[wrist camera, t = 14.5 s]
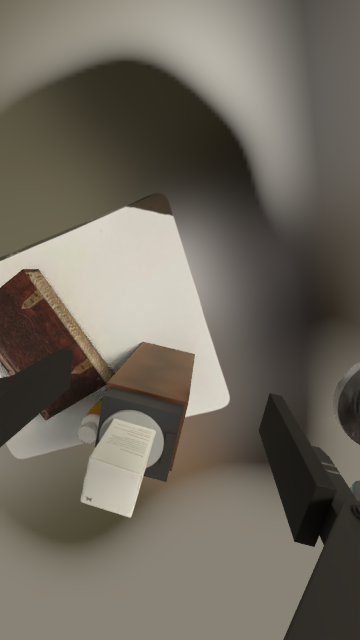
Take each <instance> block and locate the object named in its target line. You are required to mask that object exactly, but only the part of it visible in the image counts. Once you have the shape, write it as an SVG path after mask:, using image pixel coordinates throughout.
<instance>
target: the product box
mask: <svg viewBox="0 0 360 640" xmlns="http://www.w3.org/2000/svg"><path fill="white" fill-rule="evenodd" d="M155 434H156V431H155V430H153V429H149V428H146V427H142V426H139V425H135V424H132V423H129V422H126V421H122V420H119V419H115V418H114V419H113V420H112V422H111V424H110V425H109V427H108V429H107V430H106V432H105V433H104V435H103V437H102V438H101V440H100V441H99V443H98V444H97V446H96V448H95V449H94V451H93V452H92V454H91V456H90V457H89V461H88V466H87V471H86V475H85V479H84V485H83V490H82V494H81V499H80V500H81V502H83V503H86V504H89V505H92V506H96V507H99V508H102V509H105V510H108V511H111V512H114V513H117V514H120V515H124V516H127V517H131V516H132V513H133V510H134V506H135V502H136V500H137V496H138V493H139V489H140V486H141V482H142V479H143V475H144V472H145V469H146V465H147V461H148V457H149V454H150V450H151V447H152V443H153V440H154V437H155Z"/></svg>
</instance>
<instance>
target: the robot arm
mask: <svg viewBox="0 0 360 640" xmlns="http://www.w3.org/2000/svg"><path fill="white" fill-rule="evenodd" d="M72 354H73V350H68V349H64V348H61V349H59V350H58V351H56V352H54V353H52V354H50V355H48V356H47V357H45V358H43V359H41V360H39V361H37V362H36V363H34V364H32V365H30V366H28V367H26V368H25V369H23V370H21V371H19V372H17V373H15V374H14V375H12V376H10V377H3V378H0V447H1V446H2V445H3V444H5V443H6V442H7V441H8V440H9V439H10V438H12V437H13V436H14V435H15V434H16V433H17V432H19V431H20V430H21V429H22V428H23V427H24V426H26V425H27V424H28V423H29V422H30V421H31V420H32V419H34V418H35V417H36V416H37V415H38V414H39V413H41V412H42V411H43V410H44V409H45V408H46V407H48V406H49V405H50V404H51V403H52V402H53V401H54V400H56V399H57V398H58V397H59V396H60V395H61V394H63V393H64V392H65V391H66V390H67V389H68V388H70V377H71V365H72ZM357 415H358V418H359V420H360V397H359V399H358V402H357ZM259 433H260V436H261V439H262V442H263V445H264V448H265V451H266V455H267V458H268V461H269V464H270V467H271V470H272V473H273V476H274V479H275V483H276V486H277V488H278V492H279V495H280V498H281V501H282V504H283V507H284V510H285V514H286V517H287V520H288V523H289V526H290V529H291V532H292V535H293V538H294V541H295V542H298V543H301V544H305V545H309V546H313V547H314V546H315V544H316V542H317V539H318V537H319V535H320V537H321V540H322V542H323V544H324V547H323V550H322V552H321V555H320V557H319V559H318V561H317V563H316V566H315V568H314V570H313V573H312V575H311V577H310V580H309V582H308V584H307V587H306V589H305V591H304V593H303V596H302V598H301V600H300V603H299V605H298V607H297V610H296V612H295V614H294V617H293V619H292V621H291V624H290V626H289V628H288V630H287V633H286V635H285V637H284V640H360V481H356V482H355V483H354V484H353V485H352V487H351V488H349V487H348V485H347V484H346V482H345V481H344V479H343V478H342V476H341V475H340V473H339V471H338V470H337V468H336V467H335V465H334V464H333V462H332V461H331V459H330V458H329V456H327V454H326V453H325V452H324V451H323V450H321V449H320V448H319V447H315V446H311V444H310V442H309V441H308V439H307V437H306V436H305V434H304V432H303V431H302V429H301V427H300V426H299V424H298V422H297V421H296V419H295V417H294V415H293V414H292V412H291V410H290V409H289V407H288V405H287V404H286V402H285V400H284V399H283V397H282V396H280V395H275V394H269V398H268V401H267V405H266V408H265V411H264V415H263V418H262V422H261V425H260V428H259Z"/></svg>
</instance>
